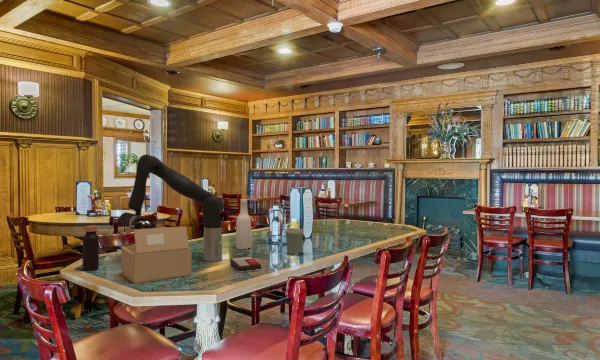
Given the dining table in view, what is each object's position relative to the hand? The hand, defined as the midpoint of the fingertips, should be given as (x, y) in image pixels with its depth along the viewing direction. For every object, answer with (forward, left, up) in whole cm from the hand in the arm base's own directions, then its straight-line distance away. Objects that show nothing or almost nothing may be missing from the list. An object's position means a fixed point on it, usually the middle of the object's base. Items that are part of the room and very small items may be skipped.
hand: (149, 227), depth 188 cm
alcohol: (-50, -47, -20) cm, 71 cm away
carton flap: (-7, +16, -3) cm, 18 cm away
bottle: (+26, -7, -20) cm, 34 cm away
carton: (-4, +9, -20) cm, 22 cm away
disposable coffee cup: (-76, -24, -20) cm, 82 cm away
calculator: (-44, +4, -21) cm, 49 cm away
